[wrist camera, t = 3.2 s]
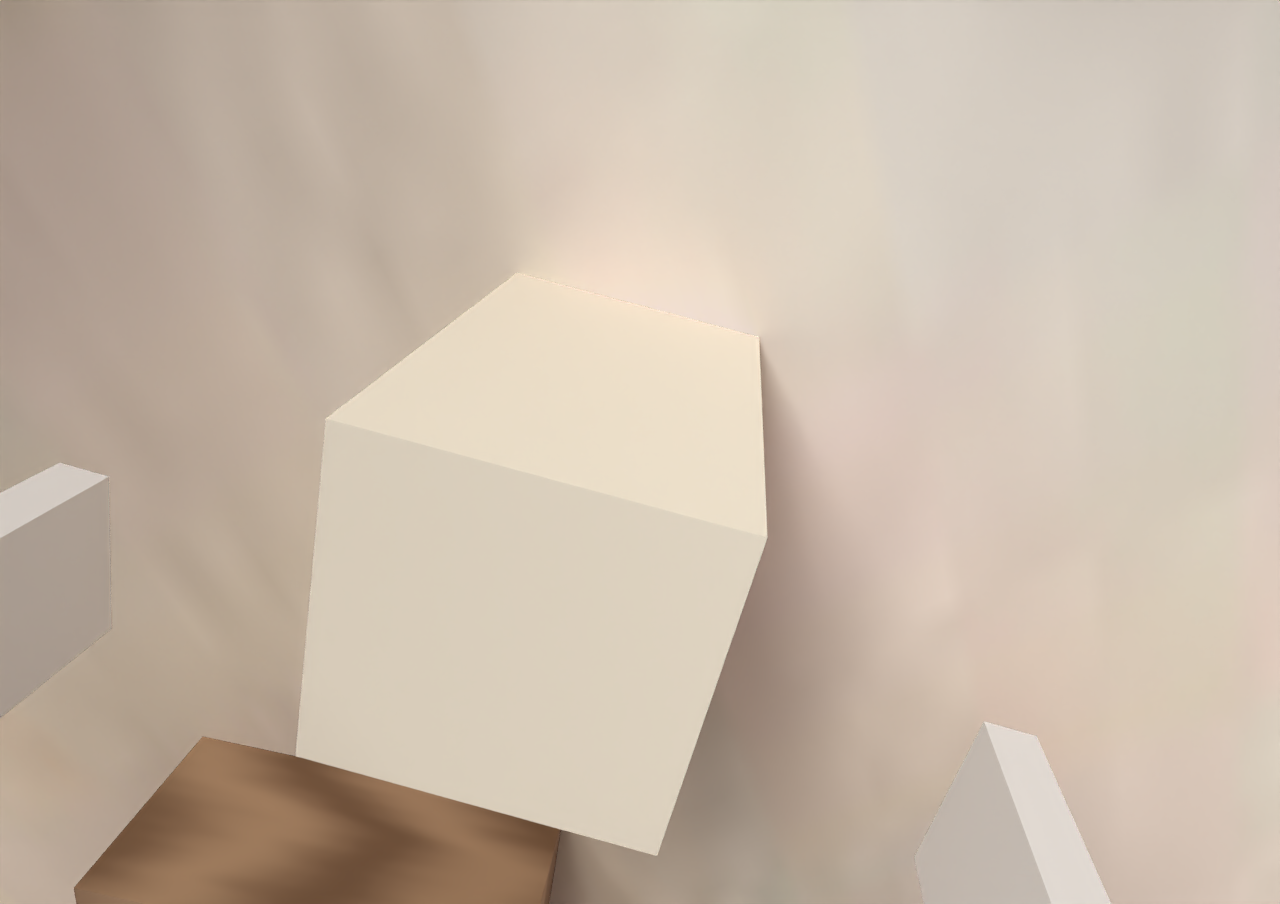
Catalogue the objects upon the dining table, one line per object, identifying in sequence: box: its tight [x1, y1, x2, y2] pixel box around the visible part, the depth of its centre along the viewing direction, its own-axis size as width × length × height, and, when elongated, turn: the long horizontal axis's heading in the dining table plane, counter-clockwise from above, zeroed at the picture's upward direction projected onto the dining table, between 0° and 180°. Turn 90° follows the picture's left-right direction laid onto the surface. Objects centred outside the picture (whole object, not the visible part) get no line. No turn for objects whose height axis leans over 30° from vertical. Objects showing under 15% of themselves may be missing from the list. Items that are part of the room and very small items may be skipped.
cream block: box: [295, 273, 767, 856], centre depth 17 cm, size 6×6×10 cm
